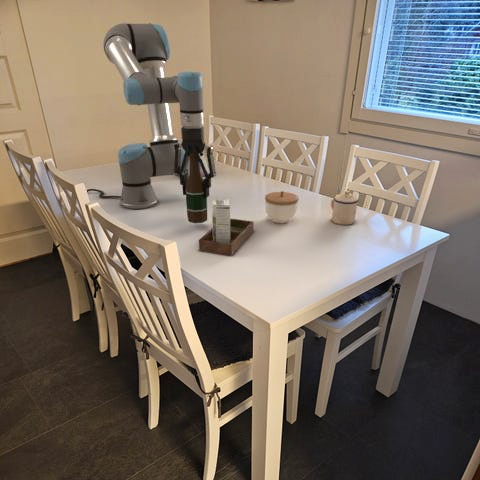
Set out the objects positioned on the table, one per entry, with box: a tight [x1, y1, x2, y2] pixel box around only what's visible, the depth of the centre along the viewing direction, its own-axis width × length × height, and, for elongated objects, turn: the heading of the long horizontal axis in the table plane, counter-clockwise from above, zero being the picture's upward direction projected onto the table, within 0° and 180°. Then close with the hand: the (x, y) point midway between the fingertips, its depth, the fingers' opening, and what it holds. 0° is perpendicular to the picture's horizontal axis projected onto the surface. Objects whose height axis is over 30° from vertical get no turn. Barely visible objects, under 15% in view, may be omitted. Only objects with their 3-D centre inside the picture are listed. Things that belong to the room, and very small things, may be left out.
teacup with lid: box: [330, 189, 359, 226], centre depth 160 cm, size 12×9×12 cm
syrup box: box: [211, 199, 231, 244], centre depth 138 cm, size 6×6×14 cm
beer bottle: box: [185, 153, 208, 224], centre depth 149 cm, size 8×8×24 cm
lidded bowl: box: [264, 190, 299, 224], centre depth 160 cm, size 13×13×11 cm
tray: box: [198, 217, 255, 257], centre depth 145 cm, size 12×22×4 cm, turn 160°
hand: (196, 195), depth 150 cm, fingers closed on beer bottle, 8 cm apart
